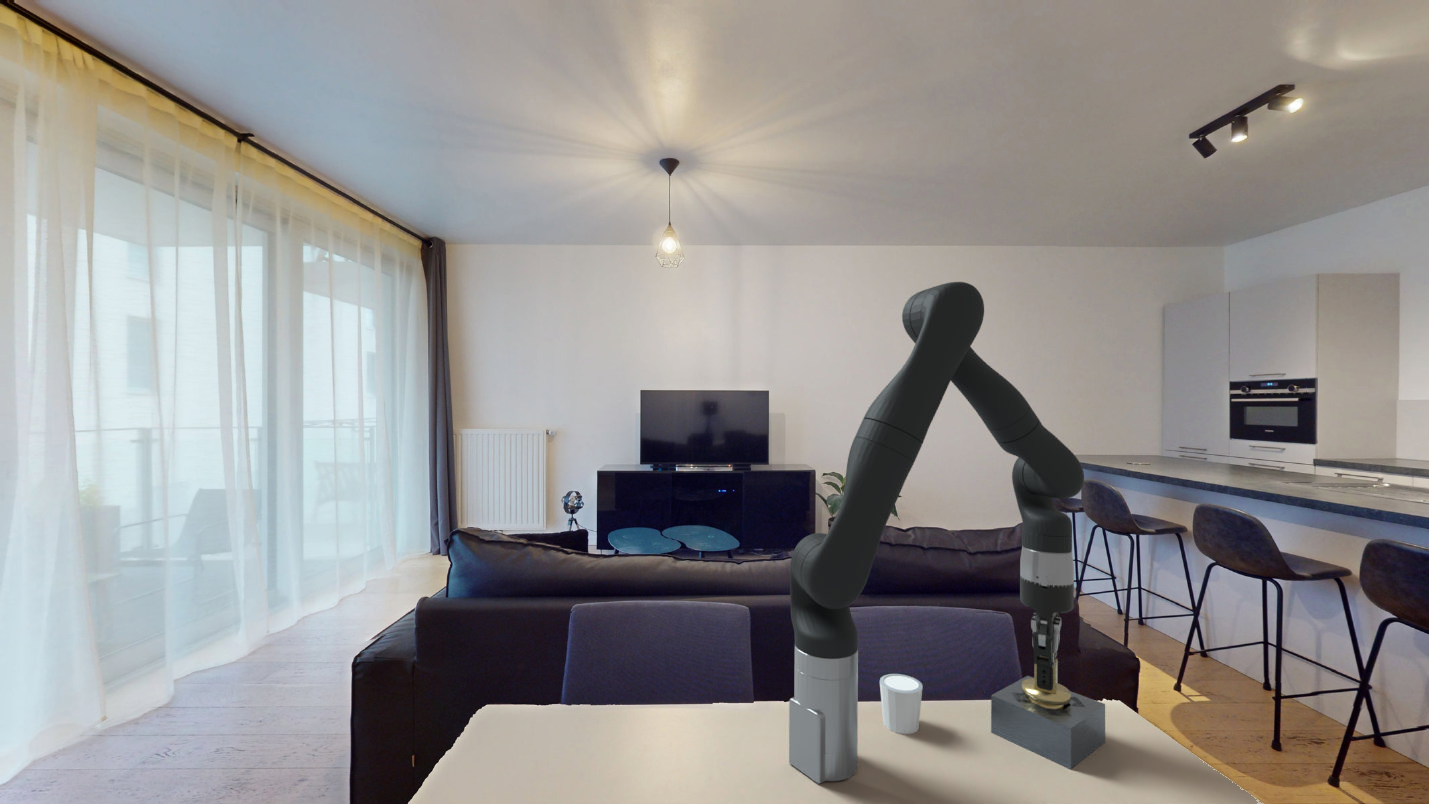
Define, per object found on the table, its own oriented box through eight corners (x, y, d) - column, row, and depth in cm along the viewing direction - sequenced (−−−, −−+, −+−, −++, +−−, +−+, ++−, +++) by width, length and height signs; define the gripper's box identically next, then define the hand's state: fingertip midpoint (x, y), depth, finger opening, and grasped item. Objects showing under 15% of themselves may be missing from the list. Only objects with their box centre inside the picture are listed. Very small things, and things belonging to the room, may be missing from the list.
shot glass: (927, 721, 99) (927, 679, 99) (916, 741, 93) (917, 696, 93) (886, 709, 102) (886, 669, 102) (873, 727, 97) (874, 685, 97)
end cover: (1069, 734, 90) (1069, 673, 90) (1019, 720, 94) (1019, 662, 94) (1071, 715, 95) (1072, 657, 95) (1024, 703, 99) (1024, 647, 99)
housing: (1071, 769, 86) (1071, 728, 86) (991, 732, 95) (991, 695, 95) (1105, 742, 93) (1105, 704, 93) (1027, 710, 102) (1027, 675, 103)
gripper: (1025, 563, 102) (1025, 662, 102) (1014, 582, 91) (1013, 695, 91) (1076, 570, 98) (1075, 674, 98) (1070, 591, 87) (1070, 709, 87)
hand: (1045, 683), depth 94 cm, fingers closed on end cover, 3 cm apart
